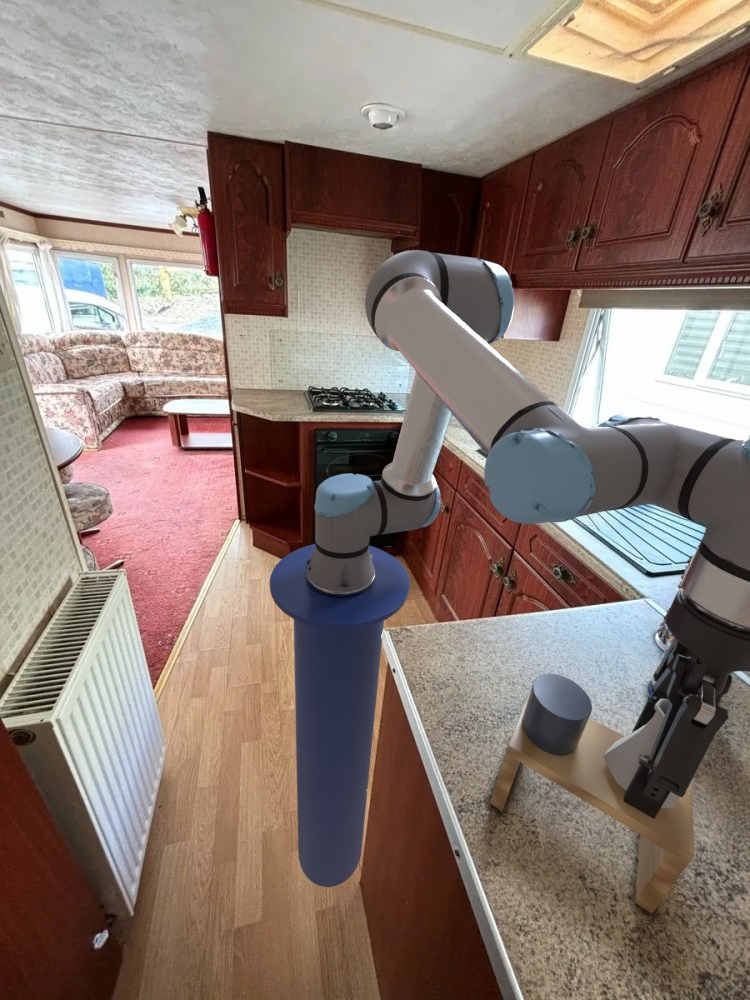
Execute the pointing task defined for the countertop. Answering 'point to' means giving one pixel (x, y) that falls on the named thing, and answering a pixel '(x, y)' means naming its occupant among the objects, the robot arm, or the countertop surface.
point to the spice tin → (556, 714)
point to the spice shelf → (609, 804)
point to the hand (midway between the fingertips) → (641, 773)
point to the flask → (637, 751)
